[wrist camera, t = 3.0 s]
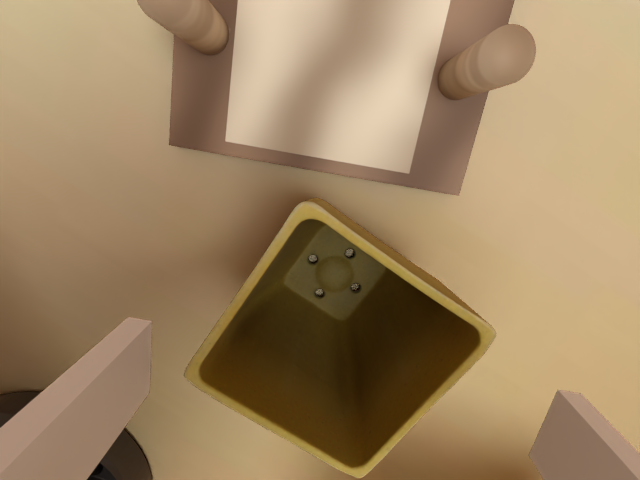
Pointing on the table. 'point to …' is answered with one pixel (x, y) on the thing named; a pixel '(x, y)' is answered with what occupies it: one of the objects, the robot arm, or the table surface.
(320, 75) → the pin board
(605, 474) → the robot arm
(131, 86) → the table surface
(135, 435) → the table surface
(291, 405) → the flower pot
